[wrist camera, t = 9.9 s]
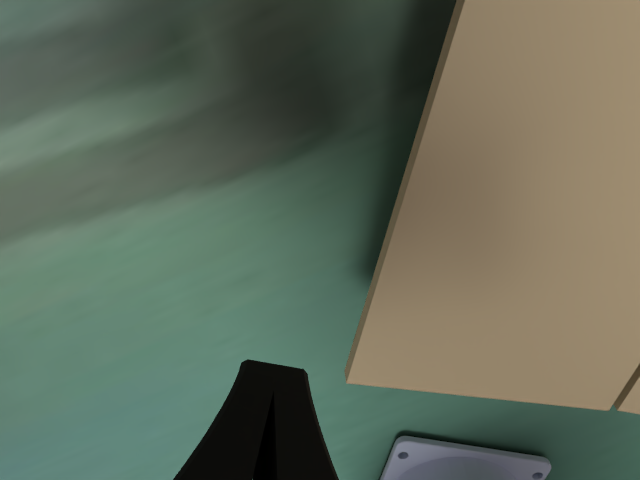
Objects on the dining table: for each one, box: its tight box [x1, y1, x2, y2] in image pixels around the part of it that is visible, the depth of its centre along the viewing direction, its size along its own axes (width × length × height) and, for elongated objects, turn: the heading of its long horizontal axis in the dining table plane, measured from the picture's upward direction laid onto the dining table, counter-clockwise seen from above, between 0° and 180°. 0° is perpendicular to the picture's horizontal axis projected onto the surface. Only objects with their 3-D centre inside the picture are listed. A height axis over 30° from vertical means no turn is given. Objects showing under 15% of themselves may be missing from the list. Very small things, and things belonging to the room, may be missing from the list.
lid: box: [345, 0, 640, 411], centre depth 16 cm, size 14×10×1 cm
